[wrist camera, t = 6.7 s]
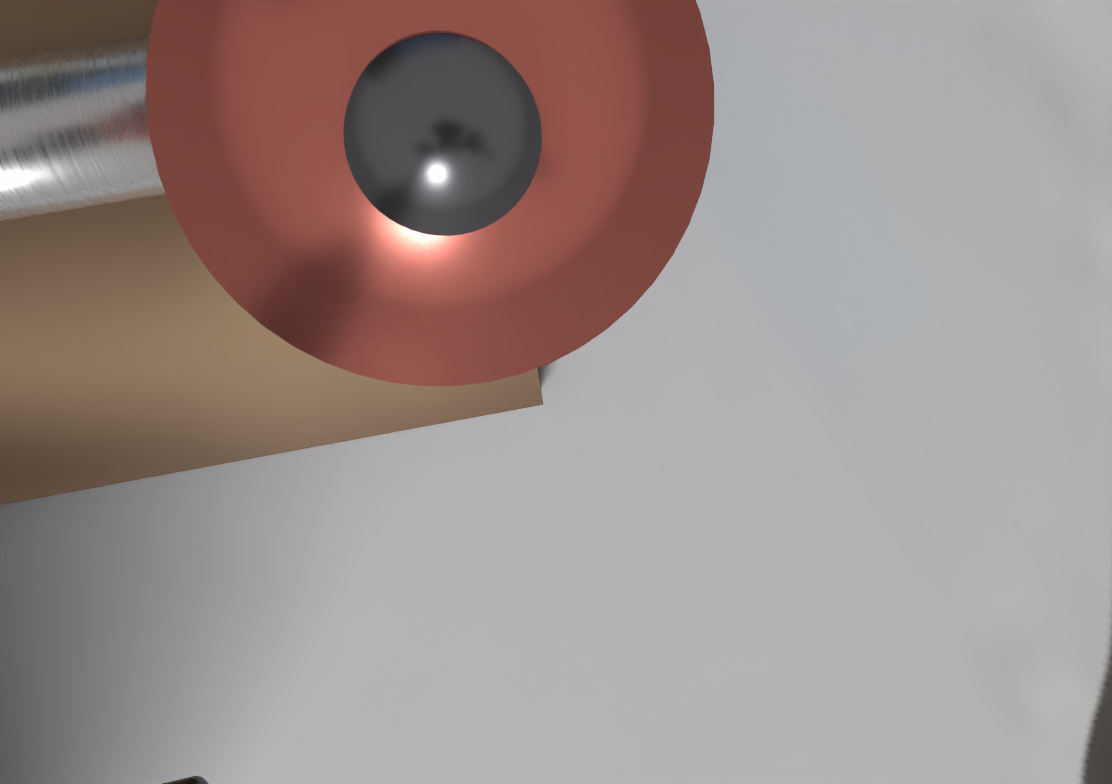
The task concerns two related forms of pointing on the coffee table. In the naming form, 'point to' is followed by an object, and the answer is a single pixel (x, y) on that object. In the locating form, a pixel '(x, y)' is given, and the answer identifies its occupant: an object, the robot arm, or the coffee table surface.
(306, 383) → the walnut board
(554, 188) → the silver and red piece
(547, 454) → the coffee table surface
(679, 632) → the coffee table surface
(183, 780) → the robot arm
